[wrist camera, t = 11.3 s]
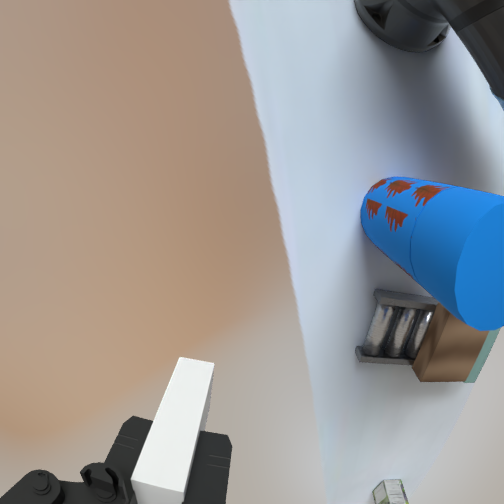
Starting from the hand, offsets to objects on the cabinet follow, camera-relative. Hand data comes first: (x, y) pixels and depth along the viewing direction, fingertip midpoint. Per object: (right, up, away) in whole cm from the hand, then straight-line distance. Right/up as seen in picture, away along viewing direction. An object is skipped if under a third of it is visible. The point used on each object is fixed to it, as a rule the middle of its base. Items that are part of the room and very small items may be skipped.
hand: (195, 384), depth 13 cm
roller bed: (+30, -7, +34) cm, 46 cm away
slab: (+34, -8, +31) cm, 47 cm away
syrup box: (+36, -53, +47) cm, 80 cm away
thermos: (+23, +11, +30) cm, 39 cm away
